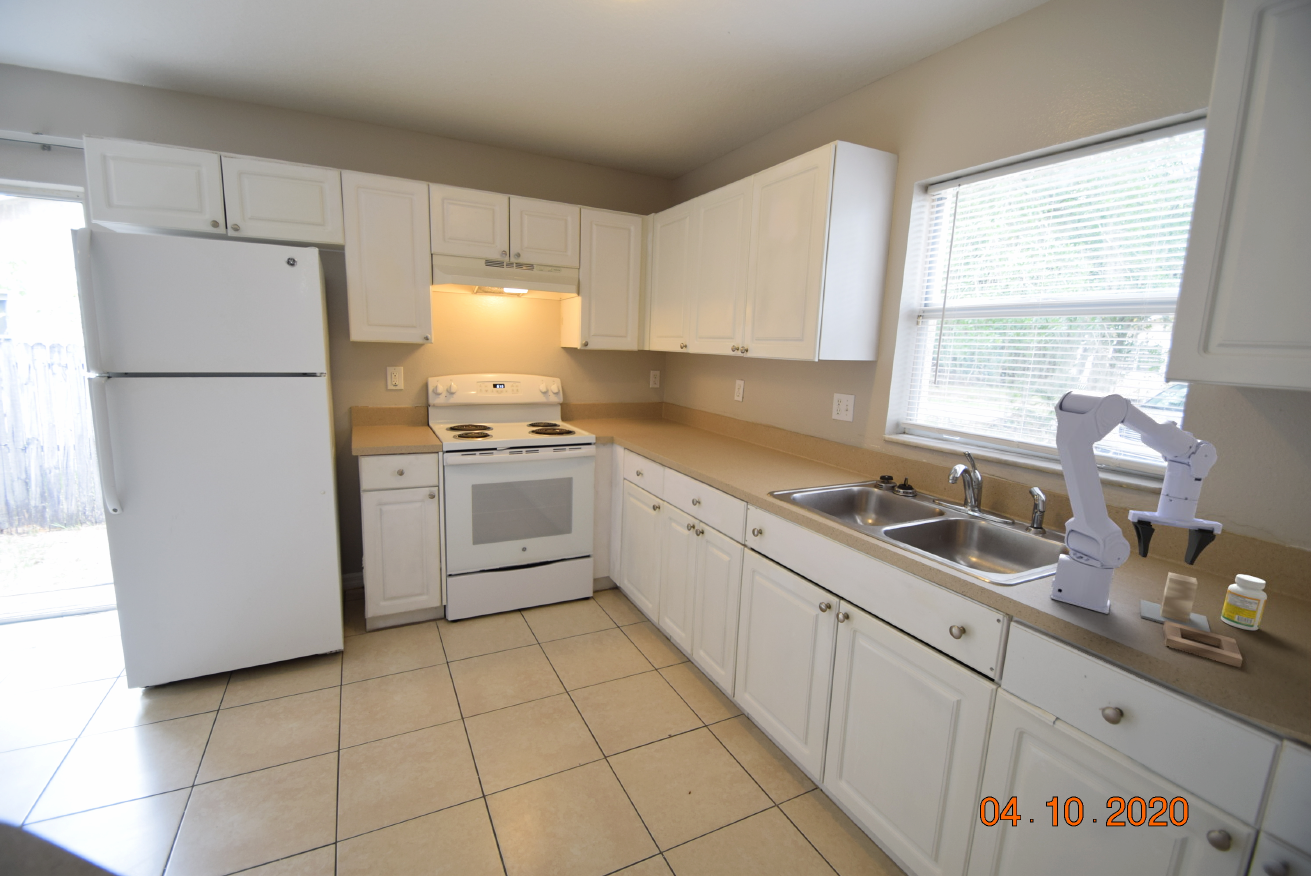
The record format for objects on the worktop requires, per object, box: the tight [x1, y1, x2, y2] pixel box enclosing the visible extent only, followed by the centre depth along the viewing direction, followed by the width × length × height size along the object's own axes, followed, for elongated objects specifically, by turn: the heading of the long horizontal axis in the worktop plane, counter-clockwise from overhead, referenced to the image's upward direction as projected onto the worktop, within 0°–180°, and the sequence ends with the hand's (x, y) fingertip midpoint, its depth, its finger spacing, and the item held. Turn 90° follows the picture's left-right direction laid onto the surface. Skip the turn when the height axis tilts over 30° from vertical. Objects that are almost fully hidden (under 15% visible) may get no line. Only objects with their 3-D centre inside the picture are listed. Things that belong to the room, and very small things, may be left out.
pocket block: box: [1162, 620, 1243, 668], centre depth 102 cm, size 10×10×2 cm
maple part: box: [1160, 571, 1199, 623], centre depth 112 cm, size 4×4×8 cm
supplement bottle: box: [1220, 573, 1268, 631], centre depth 111 cm, size 5×5×10 cm
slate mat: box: [1139, 599, 1211, 632], centre depth 113 cm, size 10×10×1 cm
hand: (1165, 559), depth 119 cm, fingers open, 7 cm apart
